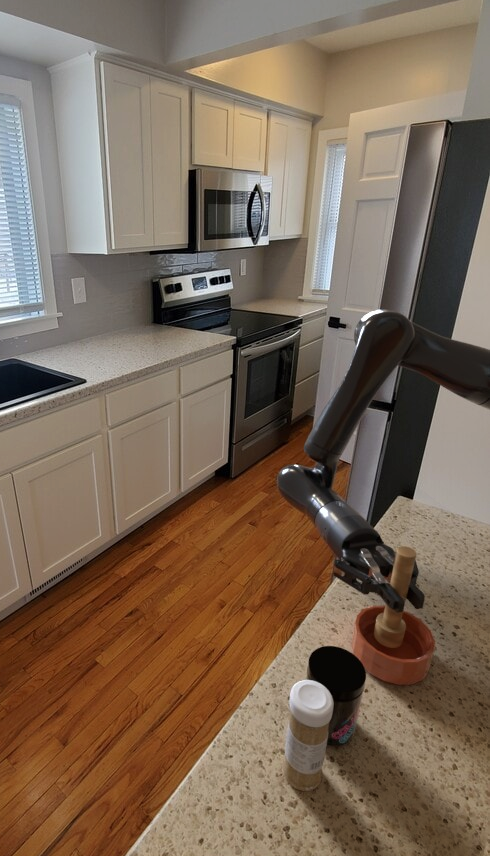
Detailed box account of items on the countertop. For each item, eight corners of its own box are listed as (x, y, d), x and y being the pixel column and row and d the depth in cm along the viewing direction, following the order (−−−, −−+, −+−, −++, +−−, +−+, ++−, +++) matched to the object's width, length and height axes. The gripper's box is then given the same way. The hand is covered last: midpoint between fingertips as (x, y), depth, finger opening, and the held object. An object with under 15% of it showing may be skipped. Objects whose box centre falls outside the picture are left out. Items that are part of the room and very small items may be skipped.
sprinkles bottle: (308, 749, 61) (319, 673, 55) (328, 787, 57) (342, 709, 51) (275, 759, 60) (283, 683, 54) (293, 798, 56) (303, 720, 50)
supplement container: (321, 758, 60) (331, 700, 55) (291, 710, 66) (297, 654, 61) (366, 739, 62) (379, 681, 57) (332, 694, 68) (341, 639, 63)
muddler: (392, 625, 75) (410, 540, 68) (408, 645, 72) (429, 558, 65) (368, 629, 75) (384, 544, 68) (383, 650, 71) (402, 563, 64)
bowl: (398, 623, 79) (403, 600, 77) (444, 680, 69) (452, 655, 67) (338, 634, 77) (341, 610, 75) (376, 694, 67) (382, 668, 65)
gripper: (310, 519, 79) (369, 592, 64) (387, 508, 82) (462, 577, 66) (305, 556, 83) (361, 634, 67) (380, 544, 85) (450, 618, 69)
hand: (411, 605), depth 67 cm, fingers closed on muddler, 2 cm apart
